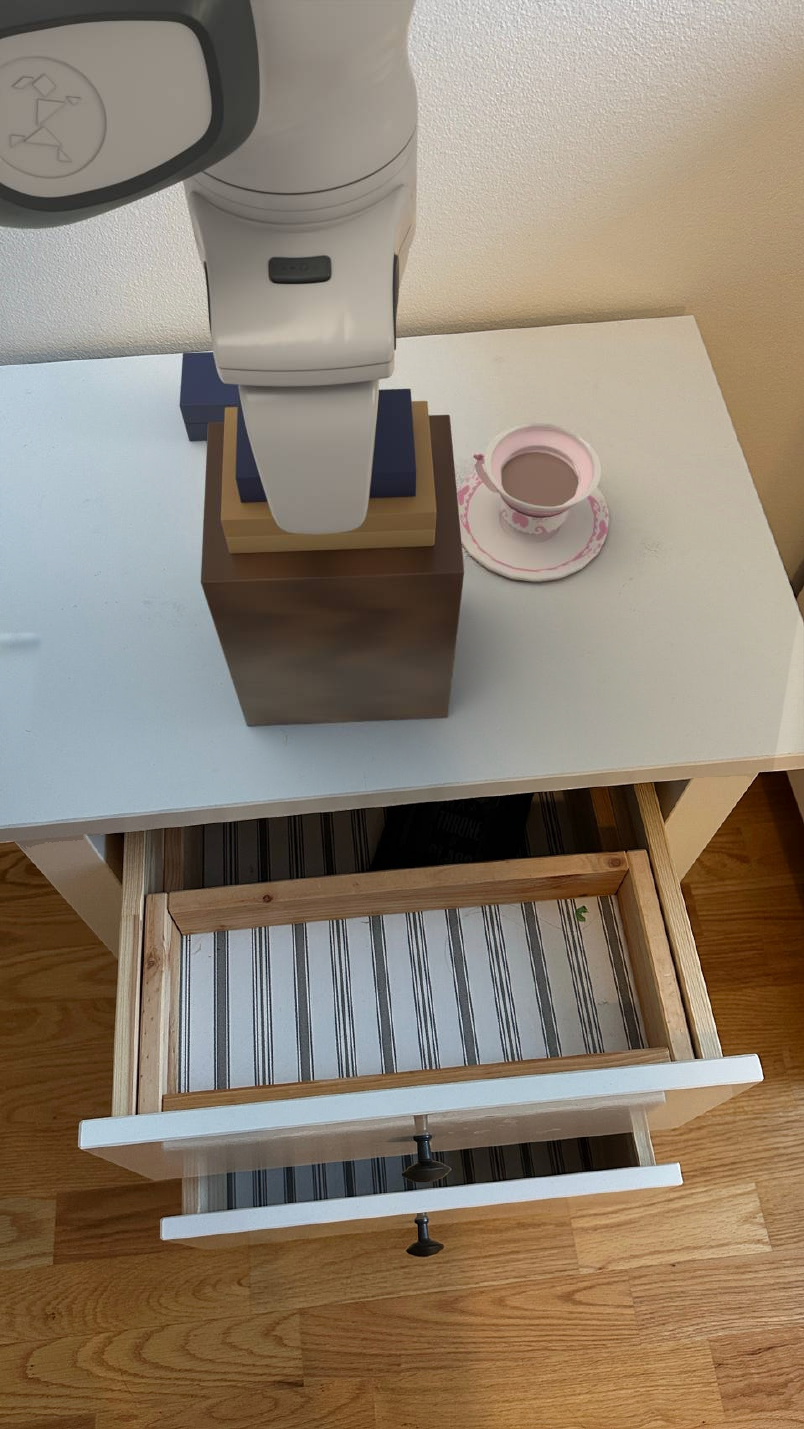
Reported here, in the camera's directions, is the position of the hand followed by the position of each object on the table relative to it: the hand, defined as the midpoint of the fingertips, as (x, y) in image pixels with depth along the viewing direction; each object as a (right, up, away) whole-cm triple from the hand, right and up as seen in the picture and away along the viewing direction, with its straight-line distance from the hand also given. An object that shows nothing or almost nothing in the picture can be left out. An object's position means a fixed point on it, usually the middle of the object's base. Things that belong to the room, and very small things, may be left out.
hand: (326, 435), depth 50 cm
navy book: (0, -1, +2) cm, 2 cm away
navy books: (-9, +10, +30) cm, 33 cm away
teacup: (+14, +1, +26) cm, 29 cm away
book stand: (0, -10, +20) cm, 23 cm away
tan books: (0, -2, +4) cm, 5 cm away
